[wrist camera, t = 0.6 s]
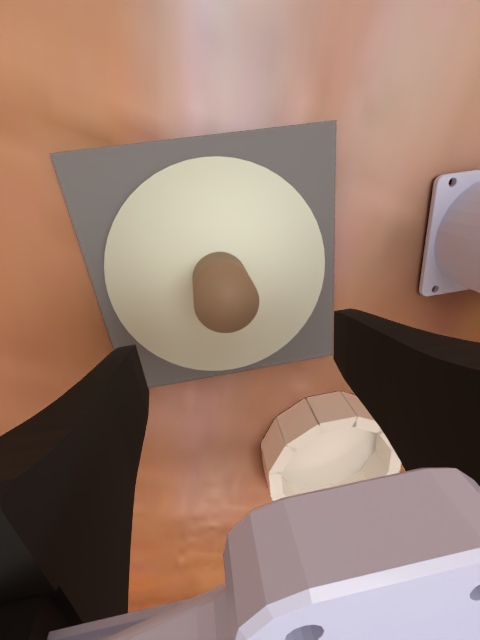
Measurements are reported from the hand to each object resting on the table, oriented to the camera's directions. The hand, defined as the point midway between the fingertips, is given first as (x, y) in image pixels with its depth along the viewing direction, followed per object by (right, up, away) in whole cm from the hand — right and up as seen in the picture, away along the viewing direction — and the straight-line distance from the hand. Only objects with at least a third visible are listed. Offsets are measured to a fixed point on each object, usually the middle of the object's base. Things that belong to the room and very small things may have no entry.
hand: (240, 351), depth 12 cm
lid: (-1, +4, +9) cm, 10 cm away
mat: (-1, +4, +9) cm, 10 cm away
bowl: (+7, -10, +17) cm, 21 cm away
